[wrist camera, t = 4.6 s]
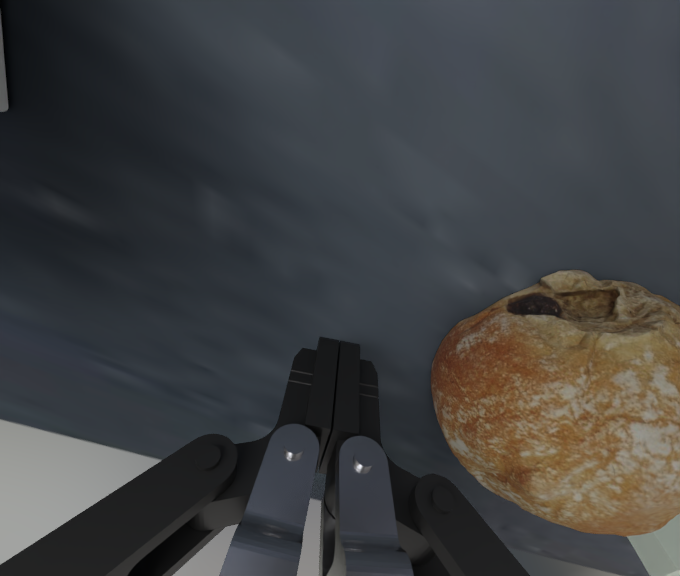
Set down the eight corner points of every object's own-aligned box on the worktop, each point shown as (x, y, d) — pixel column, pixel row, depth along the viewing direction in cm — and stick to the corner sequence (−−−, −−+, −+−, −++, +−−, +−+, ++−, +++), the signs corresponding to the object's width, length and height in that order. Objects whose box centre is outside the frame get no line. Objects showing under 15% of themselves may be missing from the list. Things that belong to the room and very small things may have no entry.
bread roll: (611, 229, 14) (820, 221, 7) (690, 432, 15) (970, 639, 7) (405, 305, 17) (390, 359, 10) (476, 473, 18) (514, 652, 10)
